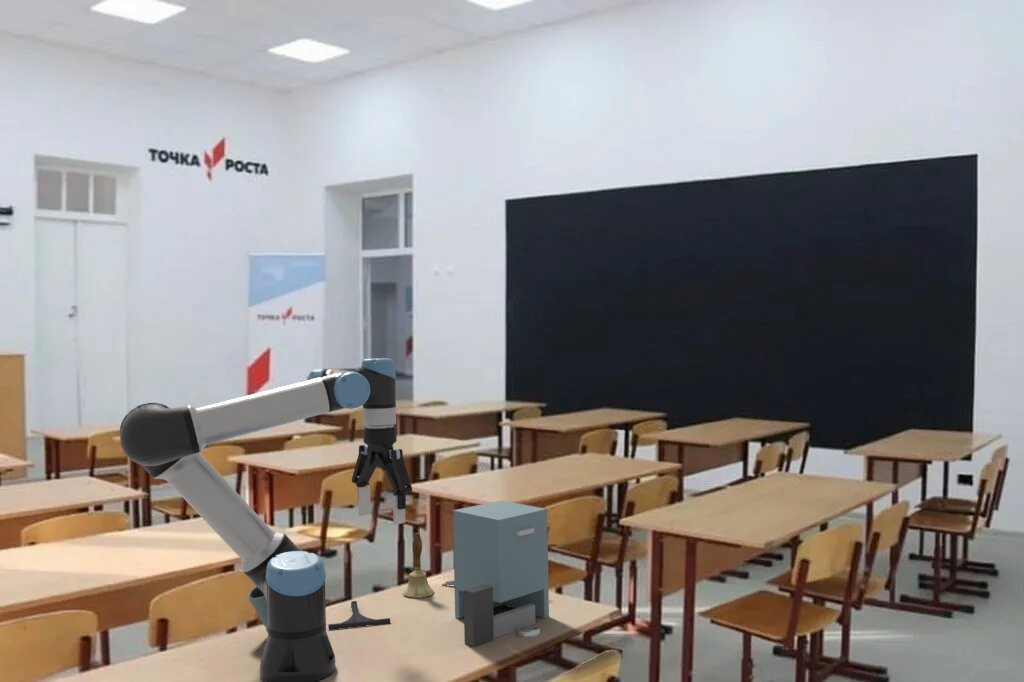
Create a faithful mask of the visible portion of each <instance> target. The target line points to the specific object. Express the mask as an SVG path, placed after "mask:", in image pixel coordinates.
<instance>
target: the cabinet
mask: <svg viewBox="0 0 1024 682" xmlns="http://www.w3.org/2000/svg"><path fill="white" fill-rule="evenodd" d="M452 525H453V531H452V532H453V572H454V574H453V575H454V576H453V578H454V579H453V580H454V586H453V587H454V618H455V617H456V618H455V619H457V618H459V619H458V620H461V619H464V618H463V617H464V590H465V589H469V588H472V587H476V586H479V585H483V584H485V585H488V586H492V587H493V609H496V608H498V606H499V607H502V606H504V605H505V607H507V606H509V607H508V608H511V607H512V608H511V609H514V608H515V609H516V608H519V607H522V606H525V605H528V604H533V605H535V617H536V616H537V617H540V618H543V619H546V618H549V617H550V605H549V604H550V603H549V602H550V599H549V594H550V593H549V552H548V551H549V545H548V543H549V542H548V541H549V540H548V535H549V534H548V509H547V508H543V507H538V506H534V505H527V504H523V503H517V502H511V501H508V500H507V501H506V500H497V501H492V502H488V503H487V502H486V503H483V504H478V505H473V506H469V507H464V508H459V509H453V510H452ZM501 605H502V606H501ZM495 607H496V608H495ZM460 618H461V619H460Z"/></svg>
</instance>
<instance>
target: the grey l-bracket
mask: <svg viewBox="0 0 1024 682" xmlns="http://www.w3.org/2000/svg"><path fill="white" fill-rule="evenodd" d="M463 622H464V623H463V625H464V626H463V627H464V628H463V629H464V644H465V645H467V646H469V647H472V648H475V647H478V646H481V645H485V644H487V643H491V642H493V641H494V639H497V638H499V636H500V637H502V636H506V635H508V634H511V633H514V632H516V630H517V631H518V629H519V628H521V627H526V626H534V625H536V615H535V605H533V604H528V605H525V606H522V607H519V608H516V609H514V608H512V609H510V610H508V611H507V610H506V611H504V612H500V613H498V614H494V608H493V587H492V586H488V585H485V584H483V585H479V586H476V587H472V588H469V589H465V590H464V618H463ZM496 637H497V638H496Z"/></svg>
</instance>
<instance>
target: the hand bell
mask: <svg viewBox="0 0 1024 682" xmlns="http://www.w3.org/2000/svg"><path fill="white" fill-rule="evenodd" d="M413 536H414V537H413V539H412V543H411V544H412V552H413V555H414V562H413V563H414V566H413V567H414V569H413V571H412V572H410V573H409V575H408V582H407V583H408V584H407V586H406V588H405V589H404V590H403V592H402V596H403V595H404V596H403V597H405V596H407V597H406V598H408V597H413V598H412V599H422V598H423V597H424V598H428V597H431V596H433V595H434V593H435V591H434V589H433V588H431V586H430V584H429V582H428V578H427V577H428V575H427V573H426V571H424V570H422V564H421V557H422V552H423V539H422V537H421V533H420V532H415V533H414V535H413Z"/></svg>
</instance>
